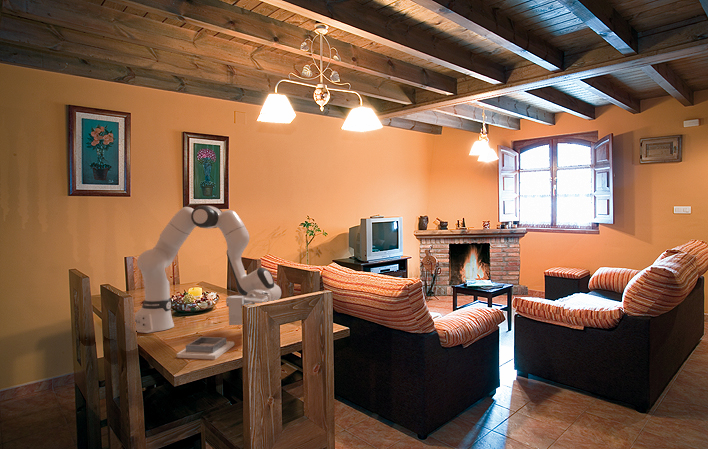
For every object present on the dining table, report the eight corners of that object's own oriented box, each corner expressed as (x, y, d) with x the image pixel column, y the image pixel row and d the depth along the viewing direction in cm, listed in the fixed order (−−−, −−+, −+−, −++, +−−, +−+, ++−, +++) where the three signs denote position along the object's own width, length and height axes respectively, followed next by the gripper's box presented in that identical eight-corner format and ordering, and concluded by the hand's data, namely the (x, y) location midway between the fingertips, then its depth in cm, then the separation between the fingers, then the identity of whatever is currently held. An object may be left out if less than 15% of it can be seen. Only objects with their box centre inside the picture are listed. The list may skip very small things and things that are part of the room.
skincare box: (244, 322, 188) (244, 295, 188) (242, 325, 184) (242, 297, 183) (230, 322, 188) (230, 295, 187) (228, 325, 183) (228, 297, 183)
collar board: (176, 357, 166) (176, 353, 166) (199, 343, 183) (199, 340, 183) (215, 359, 164) (215, 355, 164) (234, 345, 181) (234, 341, 181)
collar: (185, 351, 169) (185, 345, 169) (200, 342, 180) (200, 336, 180) (213, 352, 167) (212, 346, 167) (226, 343, 178) (226, 337, 178)
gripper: (238, 290, 202) (216, 296, 189) (273, 294, 193) (253, 300, 180) (238, 303, 202) (217, 310, 189) (273, 308, 193) (253, 315, 180)
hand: (235, 305), depth 185 cm, fingers closed on skincare box, 7 cm apart
